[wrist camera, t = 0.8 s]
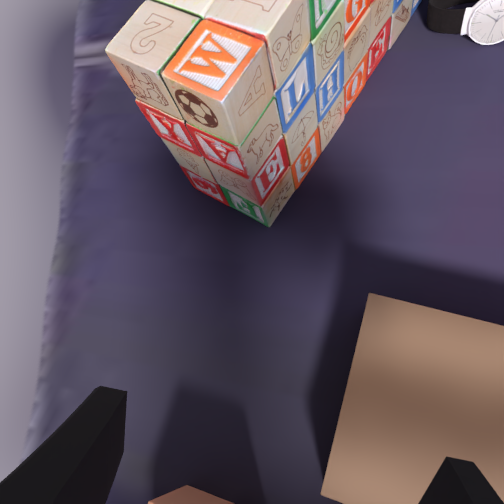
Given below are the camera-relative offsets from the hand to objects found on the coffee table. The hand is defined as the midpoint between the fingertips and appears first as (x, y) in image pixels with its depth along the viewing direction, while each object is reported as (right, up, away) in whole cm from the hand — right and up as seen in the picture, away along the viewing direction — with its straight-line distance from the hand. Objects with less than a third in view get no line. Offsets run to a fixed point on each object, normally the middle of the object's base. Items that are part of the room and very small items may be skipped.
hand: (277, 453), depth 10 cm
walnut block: (+9, -4, +12) cm, 15 cm away
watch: (+15, +20, +20) cm, 32 cm away
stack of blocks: (+4, +16, +21) cm, 26 cm away
